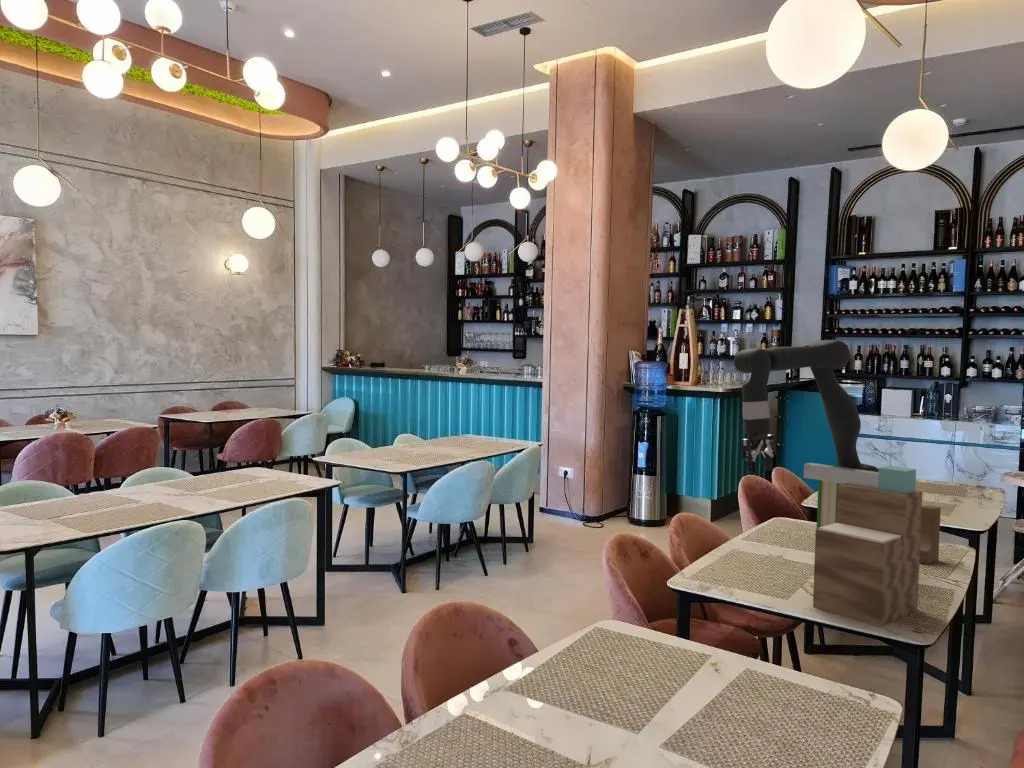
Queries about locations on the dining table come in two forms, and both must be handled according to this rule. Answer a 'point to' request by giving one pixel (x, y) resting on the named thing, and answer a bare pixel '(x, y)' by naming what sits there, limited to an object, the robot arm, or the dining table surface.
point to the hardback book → (827, 503)
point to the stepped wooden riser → (869, 556)
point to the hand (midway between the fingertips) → (760, 472)
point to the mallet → (865, 477)
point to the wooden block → (929, 534)
